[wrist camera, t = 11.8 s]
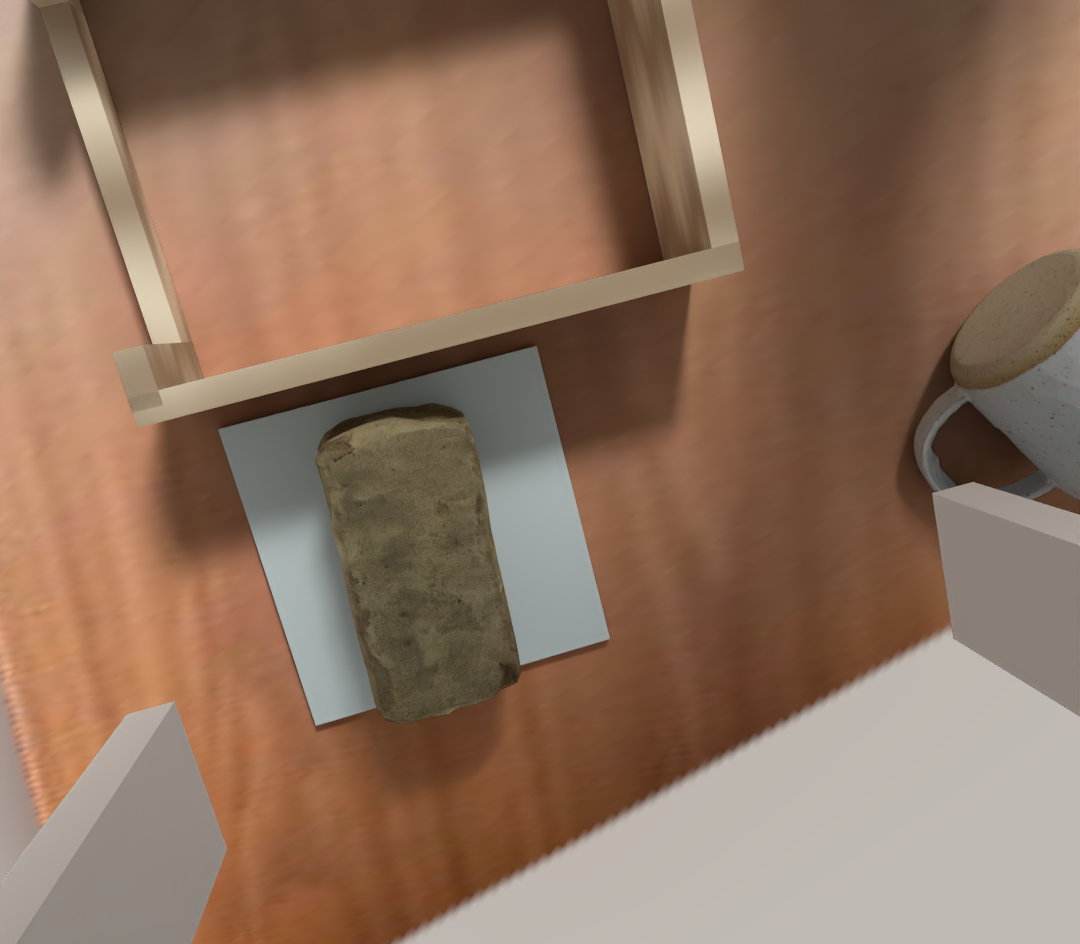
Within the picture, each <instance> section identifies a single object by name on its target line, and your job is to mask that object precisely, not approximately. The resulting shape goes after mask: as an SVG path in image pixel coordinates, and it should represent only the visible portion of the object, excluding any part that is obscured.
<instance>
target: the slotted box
mask: <svg viewBox="0 0 1080 944" xmlns="http://www.w3.org/2000/svg"><path fill="white" fill-rule="evenodd" d="M30 1H31V2H32V3H34V4H35V5H36V6H37V7H38V8H39V10H40V13H41V16H42V19H43V22H44V25H45V27H46V30H47V33H48V36H49V39H50V42H51V45H52V48H53V51H54V54H55V57H56V60H57V63H58V66H59V69H60V72H61V75H62V78H63V81H64V84H65V87H66V90H67V92H68V95H69V98H70V101H71V104H72V107H73V110H74V113H75V116H76V119H77V122H78V125H79V128H80V131H81V134H82V137H83V140H84V143H85V146H86V149H87V152H88V155H89V157H90V160H91V163H92V166H93V169H94V172H95V175H96V178H97V181H98V184H99V187H100V190H101V193H102V196H103V199H104V202H105V205H106V208H107V211H108V214H109V217H110V220H111V222H112V225H113V228H114V231H115V234H116V237H117V240H118V243H119V246H120V249H121V252H122V255H123V258H124V261H125V264H126V267H127V270H128V273H129V276H130V279H131V282H132V285H133V288H134V290H135V293H136V296H137V299H138V302H139V305H140V308H141V311H142V314H143V317H144V320H145V323H146V326H147V329H148V332H149V335H150V338H151V341H152V344H150V345H141V346H137V347H133V348H129V349H125V350H121V351H117V352H113V353H112V356H113V359H114V361H115V364H116V367H117V370H118V373H119V376H120V379H121V382H122V384H123V387H124V390H125V393H126V396H127V399H128V402H129V405H130V407H131V410H132V413H133V416H134V419H135V422H136V425H137V427H138V428H139V427H143V426H147V425H151V424H155V423H159V422H163V421H166V420H170V419H174V418H178V417H182V416H186V415H189V414H193V413H197V412H201V411H205V410H209V409H213V408H216V407H220V406H224V405H228V404H232V403H236V402H240V401H243V400H247V399H251V398H255V397H259V396H263V395H266V394H270V393H274V392H278V391H282V390H286V389H290V388H293V387H297V386H301V385H305V384H309V383H313V382H316V381H320V380H324V379H328V378H332V377H336V376H340V375H343V374H347V373H351V372H355V371H359V370H363V369H366V368H370V367H374V366H378V365H382V364H386V363H390V362H393V361H397V360H401V359H405V358H409V357H413V356H417V355H420V354H424V353H428V352H432V351H436V350H440V349H443V348H447V347H451V346H455V345H459V344H463V343H467V342H470V341H474V340H478V339H482V338H486V337H490V336H493V335H497V334H501V333H505V332H509V331H513V330H517V329H520V328H524V327H528V326H532V325H536V324H540V323H543V322H547V321H551V320H555V319H559V318H563V317H567V316H570V315H574V314H578V313H582V312H586V311H590V310H594V309H597V308H601V307H605V306H609V305H613V304H617V303H620V302H624V301H628V300H632V299H636V298H640V297H644V296H647V295H651V294H655V293H659V292H663V291H667V290H670V289H674V288H678V287H682V286H686V285H690V284H694V283H697V282H701V281H705V280H709V279H713V278H717V277H720V276H724V275H728V274H732V273H736V272H740V271H744V270H745V268H744V263H743V258H742V253H741V248H740V243H739V238H738V233H737V228H736V223H735V218H734V213H733V208H732V203H731V198H730V193H729V188H728V183H727V178H726V173H725V168H724V163H723V158H722V153H721V148H720V143H719V138H718V133H717V128H716V123H715V118H714V113H713V108H712V103H711V98H710V93H709V88H708V83H707V78H706V73H705V68H704V63H703V58H702V53H701V48H700V43H699V38H698V33H697V27H696V22H695V17H694V12H693V7H692V2H691V0H607V3H608V7H609V12H610V17H611V21H612V26H613V30H614V35H615V40H616V44H617V49H618V53H619V58H620V63H621V67H622V72H623V76H624V81H625V86H626V90H627V95H628V99H629V104H630V109H631V113H632V118H633V122H634V127H635V132H636V136H637V141H638V145H639V150H640V155H641V159H642V164H643V168H644V173H645V178H646V182H647V187H648V192H649V196H650V201H651V205H652V210H653V215H654V219H655V224H656V228H657V233H658V238H659V242H660V247H661V251H662V256H663V261H660V262H656V263H652V264H648V265H645V266H641V267H637V268H633V269H629V270H625V271H621V272H617V273H613V274H609V275H606V276H602V277H598V278H594V279H590V280H586V281H582V282H578V283H574V284H570V285H567V286H563V287H559V288H555V289H551V290H547V291H543V292H539V293H535V294H531V295H528V296H524V297H520V298H516V299H512V300H508V301H504V302H500V303H496V304H493V305H489V306H485V307H481V308H477V309H473V310H469V311H465V312H461V313H457V314H454V315H450V316H446V317H442V318H438V319H434V320H430V321H426V322H422V323H418V324H415V325H411V326H407V327H403V328H399V329H395V330H391V331H387V332H383V333H380V334H376V335H372V336H368V337H364V338H360V339H356V340H352V341H348V342H344V343H341V344H337V345H333V346H329V347H325V348H321V349H317V350H313V351H309V352H305V353H302V354H298V355H294V356H290V357H286V358H282V359H278V360H274V361H270V362H266V363H263V364H259V365H255V366H251V367H247V368H243V369H239V370H235V371H231V372H228V373H224V374H220V375H216V376H212V377H208V378H204V377H203V374H202V371H201V368H200V365H199V362H198V359H197V356H196V353H195V350H194V347H193V344H192V341H191V338H190V335H189V332H188V329H187V325H186V322H185V319H184V316H183V313H182V310H181V307H180V304H179V301H178V298H177V295H176V292H175V289H174V286H173V283H172V280H171V277H170V274H169V271H168V268H167V265H166V262H165V259H164V256H163V253H162V250H161V247H160V243H159V240H158V237H157V234H156V231H155V228H154V225H153V222H152V219H151V216H150V213H149V210H148V207H147V204H146V201H145V198H144V195H143V192H142V189H141V186H140V183H139V180H138V177H137V174H136V171H135V168H134V165H133V161H132V158H131V155H130V152H129V149H128V146H127V143H126V140H125V137H124V134H123V131H122V128H121V125H120V122H119V119H118V116H117V113H116V110H115V107H114V104H113V101H112V98H111V95H110V92H109V89H108V86H107V83H106V79H105V76H104V73H103V70H102V67H101V64H100V61H99V58H98V55H97V52H96V49H95V46H94V43H93V40H92V37H91V34H90V31H89V28H88V25H87V22H86V19H85V16H84V13H83V10H82V7H81V4H80V1H79V0H30Z"/></svg>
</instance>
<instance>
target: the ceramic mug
mask: <svg viewBox="0 0 1080 944" xmlns="http://www.w3.org/2000/svg"><path fill="white" fill-rule="evenodd" d="M950 371H951V374H952V377H953V379H954V380H955V384H954V386H953V387H951V388H950V389H949V390H948V391H947V392H945V393H944V394H942V395H941V396H939V397H938V398H937V399H936V400H935V401H934V402H933V404H932V405H931V407H930V408H929V409H928V411H927V412H926V413H925V415H924V416H923V418H922V419H921V422H920V423H919V425H918V427H917V430H916V433H915V438H914V453H915V457H916V461H917V464H918V467H919V469H920V471H921V472H922V474H923V476H924V477H925V479H926V480H927V482H928V483H929V485H930V486H931V488H932V489H933V490H934V491H935V492H938V491H942V490H945V489H949V488H953V487H956V486H957V485H956V484H955V483H954V482H953V481H952V480H951V479H950V478H949V477H948V476H947V475H946V474H945V473H944V471H943V470H942V469H941V468H940V466H939V458H938V457H937V456H936V455H935V454H934V453H933V452H932V449H931V444H932V441H933V439H934V437H935V435H936V433H937V430H938V429H939V428H940V427H941V426H942V425H943V423H944V422H945V421H946V420H947V419H948V418H949V416H950V415H951V414H952V413H954V412H955V411H956V410H957V409H958V408H959V407H960V406H961V405H962V404H964V403H966V402H970V403H971V404H972V405H973V406H974V407H975V408H976V409H977V410H979V411H980V412H981V413H982V414H983V415H984V416H985V417H986V418H987V419H988V420H989V421H990V422H991V423H992V424H993V426H994V427H996V428H998V429H1000V430H1001V431H1002V432H1003V433H1004V434H1005V435H1006V436H1007V437H1008V438H1009V439H1010V440H1011V441H1012V442H1013V444H1014V445H1015V446H1016V447H1017V448H1018V449H1019V450H1020V451H1021V452H1022V453H1023V454H1024V455H1025V456H1026V457H1027V458H1028V459H1029V460H1030V461H1031V462H1032V463H1033V464H1034V465H1035V466H1036V467H1037V468H1038V469H1037V470H1036V471H1035V472H1033V473H1032V474H1030V475H1028V476H1026V477H1024V478H1022V479H1020V480H1018V481H1016V482H1013V483H1011V484H1009V485H1006V486H1003V487H1000V488H997V489H998V490H1001V491H1004V492H1007V493H1011V494H1014V495H1017V496H1020V497H1024V498H1027V499H1030V500H1033V499H1035V498H1037V497H1039V496H1041V495H1043V494H1044V493H1046V492H1048V491H1050V490H1052V489H1053V488H1055V487H1058V488H1059V489H1061V490H1062V491H1063V492H1065V493H1066V494H1068V495H1070V496H1072V497H1074V498H1076V499H1078V500H1080V249H1069V250H1063V251H1059V252H1055V253H1052V254H1049V255H1046V256H1044V257H1041V258H1039V259H1037V260H1035V261H1034V262H1032V263H1030V264H1028V265H1026V266H1025V267H1023V268H1022V269H1020V270H1019V271H1017V272H1016V273H1014V274H1012V275H1011V276H1009V277H1008V278H1007V279H1006V280H1004V281H1003V282H1002V283H1001V284H999V285H998V286H997V287H996V288H995V289H994V290H993V291H992V292H991V293H990V294H989V295H988V296H987V297H986V298H985V299H984V300H983V301H982V302H981V303H980V304H979V305H978V306H977V307H976V308H975V309H974V310H973V312H972V313H971V314H970V316H969V317H968V318H967V320H966V321H965V323H964V324H963V326H962V328H961V329H960V331H959V332H958V334H957V336H956V338H955V341H954V344H953V347H952V351H951V357H950Z"/></svg>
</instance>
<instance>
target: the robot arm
mask: <svg viewBox="0 0 1080 944" xmlns="http://www.w3.org/2000/svg"><path fill="white" fill-rule="evenodd" d="M932 497H933V504H934V510H935V517H936V524H937V531H938V538H939V544H940V551H941V558H942V565H943V572H944V578H945V585H946V592H947V599H948V606H949V612H950V619H951V626H952V633H953V638H954V639H955V640H957V641H958V642H960V643H962V644H963V645H965V646H967V647H968V648H970V649H971V650H973V651H975V652H976V653H978V654H980V655H981V656H983V657H984V658H986V659H988V660H989V661H991V662H993V663H994V664H996V665H998V666H999V667H1001V668H1002V669H1004V670H1005V671H1007V672H1009V673H1010V674H1012V675H1013V676H1015V677H1017V678H1018V679H1020V680H1022V681H1023V682H1025V683H1026V684H1028V685H1030V686H1031V687H1033V688H1035V689H1036V690H1038V691H1040V692H1041V693H1043V694H1044V695H1046V696H1048V697H1049V698H1051V699H1052V700H1054V701H1056V702H1057V703H1059V704H1060V705H1062V706H1064V707H1065V708H1067V709H1069V710H1070V711H1072V712H1073V713H1075V714H1077V715H1078V716H1080V515H1079V514H1076V513H1072V512H1069V511H1066V510H1063V509H1059V508H1056V507H1053V506H1050V505H1046V504H1043V503H1040V502H1037V501H1033V500H1030V499H1027V498H1024V497H1020V496H1017V495H1014V494H1011V493H1007V492H1004V491H1001V490H998V489H994V488H991V487H988V486H985V485H981V484H978V483H975V482H971V483H967V484H963V485H960V486H956V487H953V488H949V489H945V490H942V491H938V492H934V493H932ZM226 851H227V847H226V844H225V841H224V838H223V836H222V833H221V830H220V827H219V824H218V822H217V819H216V816H215V813H214V810H213V808H212V805H211V802H210V799H209V796H208V794H207V791H206V788H205V785H204V782H203V780H202V777H201V774H200V771H199V768H198V766H197V763H196V760H195V757H194V754H193V752H192V749H191V746H190V743H189V740H188V738H187V735H186V732H185V729H184V726H183V724H182V721H181V718H180V715H179V712H178V710H177V707H176V704H175V701H174V702H170V703H167V704H163V705H159V706H156V707H152V708H148V709H145V710H141V711H138V712H134V713H130V714H127V715H126V716H125V718H124V719H123V720H122V722H121V723H120V724H119V726H118V727H117V728H116V730H115V731H114V732H113V734H112V735H111V736H110V737H109V739H108V740H107V741H106V743H105V744H104V745H103V747H102V748H101V749H100V751H99V752H98V753H97V755H96V756H95V757H94V759H93V760H92V761H91V763H90V764H89V765H88V767H87V768H86V769H85V771H84V772H83V773H82V775H81V776H80V777H79V779H78V780H77V781H76V783H75V784H74V785H73V787H72V788H71V789H70V791H69V792H68V793H67V795H66V796H65V797H64V799H63V800H62V801H61V803H60V804H59V805H58V807H57V808H56V809H55V811H54V812H53V813H52V815H51V816H50V817H49V819H48V820H47V821H46V823H45V824H44V825H43V827H42V828H41V829H40V831H39V832H38V833H37V835H36V836H35V837H34V839H33V840H32V841H31V843H30V844H29V845H28V847H27V848H26V849H25V851H24V852H23V853H22V855H21V856H20V857H19V859H18V860H17V861H16V863H15V864H14V865H13V867H12V868H11V869H10V871H9V872H8V873H7V875H6V876H5V877H4V879H3V880H2V881H1V883H0V944H192V942H193V939H194V936H195V934H196V931H197V928H198V926H199V923H200V920H201V918H202V915H203V912H204V910H205V907H206V904H207V902H208V899H209V896H210V894H211V891H212V888H213V886H214V883H215V880H216V878H217V875H218V872H219V870H220V867H221V864H222V862H223V859H224V856H225V854H226Z"/></svg>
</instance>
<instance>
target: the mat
mask: <svg viewBox="0 0 1080 944" xmlns="http://www.w3.org/2000/svg"><path fill="white" fill-rule="evenodd" d="M429 403H436V404H440V405H445V406H449V407H453V408H455V409H457V410H459V411H461V412H463V414H464V417H465V418H466V420H467V422H468V423H469V426H470V429H471V431H472V434H473V437H474V441H475V445H476V449H477V453H478V458H479V462H480V467H481V472H482V477H483V482H484V487H485V491H486V497H487V503H488V510H489V518H490V525H491V531H492V535H493V539H494V544H495V549H496V554H497V559H498V563H499V567H500V572H501V576H502V580H503V585H504V589H505V594H506V598H507V602H508V606H509V611H510V616H511V621H512V625H513V630H514V634H515V638H516V643H517V649H518V654H519V660H520V665H524V664H527V663H530V662H534V661H537V660H540V659H544V658H547V657H551V656H554V655H557V654H561V653H564V652H568V651H571V650H574V649H578V648H581V647H584V646H588V645H591V644H595V643H598V642H601V641H605V640H608V639H610V637H609V633H608V629H607V625H606V621H605V617H604V613H603V609H602V605H601V601H600V597H599V593H598V589H597V585H596V581H595V577H594V573H593V569H592V565H591V561H590V557H589V553H588V549H587V545H586V541H585V537H584V533H583V529H582V525H581V521H580V517H579V513H578V509H577V505H576V501H575V497H574V493H573V489H572V485H571V481H570V477H569V473H568V469H567V465H566V461H565V457H564V453H563V449H562V445H561V441H560V437H559V433H558V429H557V425H556V421H555V417H554V413H553V409H552V405H551V401H550V397H549V393H548V389H547V385H546V381H545V377H544V373H543V369H542V365H541V361H540V357H539V353H538V349H537V346H533V347H529V348H525V349H521V350H518V351H514V352H510V353H506V354H502V355H498V356H495V357H491V358H487V359H483V360H479V361H476V362H472V363H468V364H464V365H460V366H456V367H453V368H449V369H445V370H441V371H437V372H434V373H430V374H426V375H422V376H418V377H415V378H411V379H407V380H403V381H399V382H395V383H392V384H388V385H384V386H380V387H376V388H373V389H369V390H365V391H361V392H357V393H353V394H350V395H346V396H342V397H338V398H334V399H331V400H327V401H323V402H319V403H315V404H312V405H308V406H304V407H300V408H296V409H292V410H289V411H285V412H281V413H277V414H273V415H270V416H266V417H262V418H258V419H254V420H250V421H247V422H243V423H239V424H235V425H231V426H228V427H224V428H220V429H218V431H219V434H220V437H221V440H222V443H223V446H224V449H225V452H226V455H227V458H228V461H229V464H230V467H231V470H232V473H233V476H234V479H235V482H236V486H237V489H238V492H239V495H240V498H241V501H242V504H243V507H244V510H245V513H246V516H247V519H248V522H249V525H250V528H251V531H252V534H253V537H254V540H255V543H256V546H257V549H258V552H259V555H260V558H261V561H262V564H263V567H264V570H265V573H266V576H267V579H268V583H269V586H270V589H271V592H272V595H273V598H274V601H275V604H276V607H277V610H278V613H279V616H280V619H281V622H282V625H283V628H284V631H285V634H286V637H287V640H288V643H289V646H290V649H291V652H292V655H293V658H294V661H295V664H296V667H297V670H298V673H299V676H300V680H301V683H302V686H303V689H304V692H305V695H306V698H307V701H308V704H309V707H310V710H311V713H312V716H313V719H314V722H315V725H316V726H317V725H320V724H324V723H327V722H331V721H334V720H337V719H341V718H344V717H347V716H351V715H354V714H358V713H361V712H364V711H368V710H371V709H375V708H376V705H375V702H374V698H373V694H372V690H371V686H370V682H369V677H368V673H367V670H366V667H365V663H364V660H363V657H362V653H361V649H360V645H359V641H358V637H357V633H356V629H355V625H354V620H353V616H352V611H351V607H350V603H349V598H348V594H347V589H346V585H345V580H344V576H343V571H342V566H341V561H340V557H339V553H338V549H337V545H336V542H335V538H334V534H333V531H332V523H331V518H330V513H329V508H328V504H327V500H326V496H325V491H324V487H323V484H322V481H321V477H320V474H319V471H318V468H317V465H316V462H315V459H316V457H317V455H318V450H317V448H318V446H319V443H320V441H321V439H322V438H323V436H324V434H325V433H326V432H327V431H329V430H331V429H332V428H333V427H335V426H336V425H337V424H339V423H340V422H342V421H344V420H346V419H349V418H353V417H359V416H362V415H368V414H372V413H376V412H380V411H383V410H387V409H392V408H397V407H416V406H420V405H423V404H429Z"/></svg>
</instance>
